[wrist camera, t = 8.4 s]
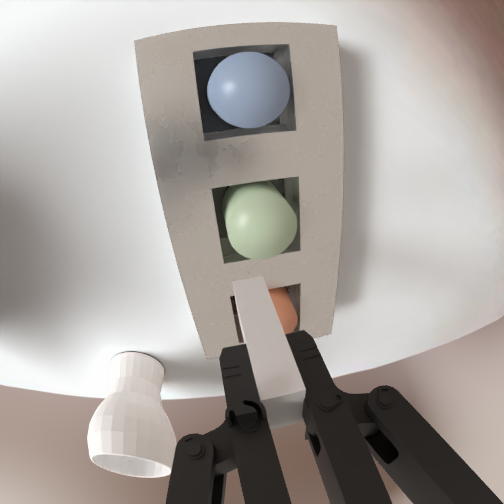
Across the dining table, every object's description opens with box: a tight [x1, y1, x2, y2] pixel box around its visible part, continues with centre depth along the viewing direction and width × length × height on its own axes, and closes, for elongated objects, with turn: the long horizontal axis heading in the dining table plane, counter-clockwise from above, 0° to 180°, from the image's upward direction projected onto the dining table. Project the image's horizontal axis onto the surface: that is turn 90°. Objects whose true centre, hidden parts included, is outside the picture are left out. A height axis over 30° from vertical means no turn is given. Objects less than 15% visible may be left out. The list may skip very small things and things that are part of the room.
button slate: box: [207, 52, 290, 128], centre depth 18 cm, size 5×5×5 cm
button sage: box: [222, 180, 297, 260], centre depth 23 cm, size 5×5×5 cm
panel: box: [134, 22, 344, 359], centre depth 24 cm, size 14×30×4 cm, turn 6°
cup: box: [87, 352, 176, 478], centre depth 29 cm, size 11×11×15 cm
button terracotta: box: [268, 286, 298, 334], centre depth 29 cm, size 5×5×5 cm
